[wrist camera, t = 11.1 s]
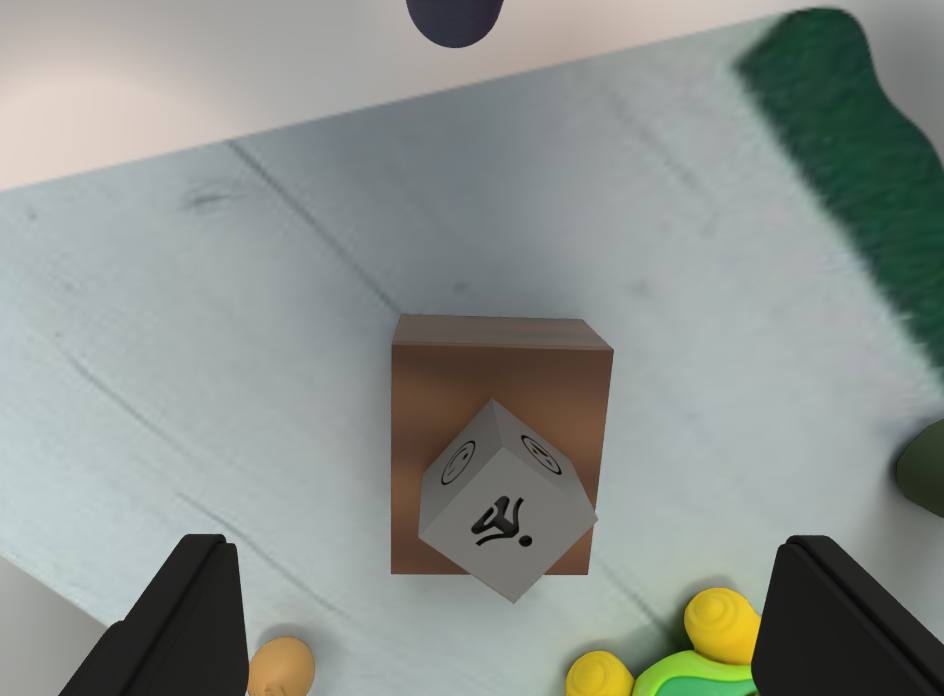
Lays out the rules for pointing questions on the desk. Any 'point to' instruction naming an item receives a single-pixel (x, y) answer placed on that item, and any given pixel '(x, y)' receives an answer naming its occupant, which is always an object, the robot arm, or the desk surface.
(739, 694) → the turtle toy
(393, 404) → the walnut block
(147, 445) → the desk surface
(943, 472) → the character mug
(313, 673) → the figurine
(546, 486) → the dice cube
